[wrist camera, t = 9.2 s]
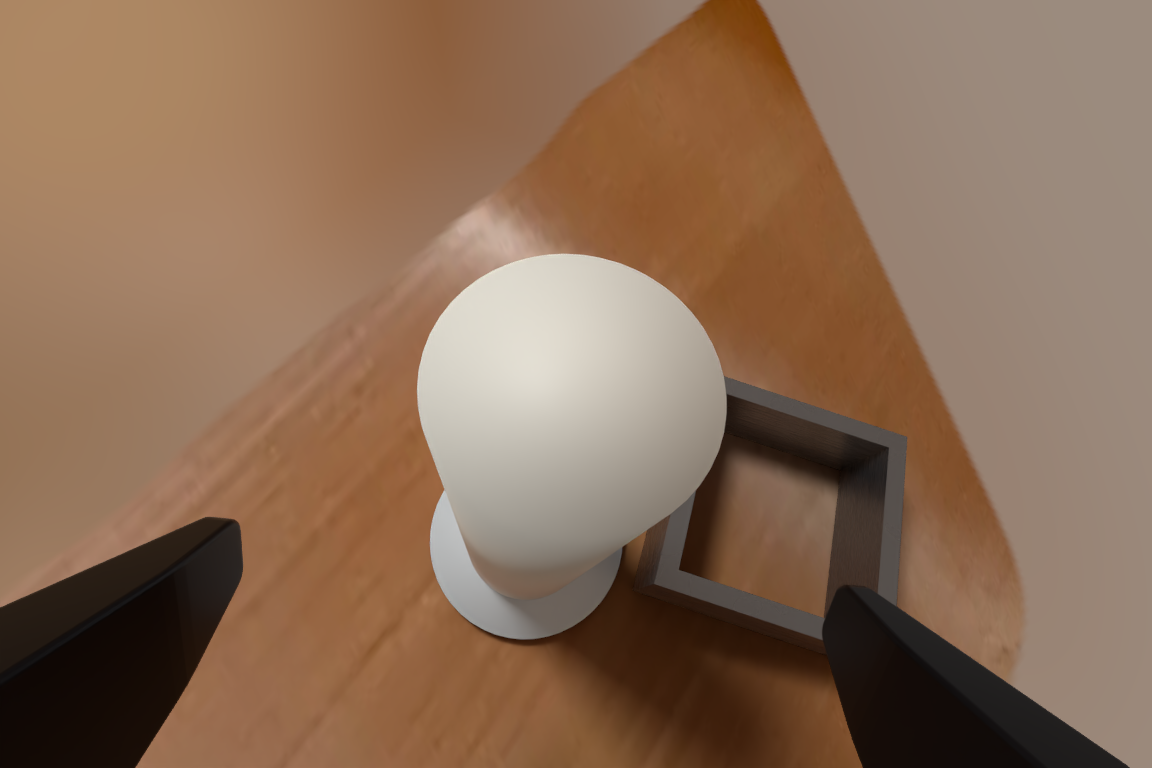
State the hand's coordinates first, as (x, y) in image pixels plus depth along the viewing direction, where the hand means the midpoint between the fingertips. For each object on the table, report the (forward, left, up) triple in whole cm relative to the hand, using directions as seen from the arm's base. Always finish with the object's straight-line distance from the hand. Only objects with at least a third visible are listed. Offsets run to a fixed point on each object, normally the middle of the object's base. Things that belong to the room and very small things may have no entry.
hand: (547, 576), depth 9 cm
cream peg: (+2, +1, -11) cm, 11 cm away
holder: (+5, -7, -11) cm, 14 cm away
